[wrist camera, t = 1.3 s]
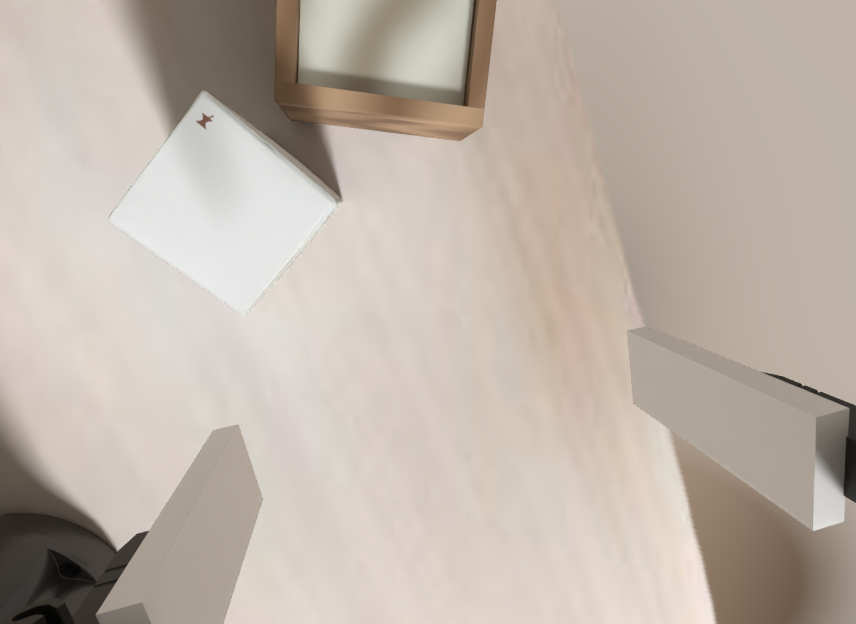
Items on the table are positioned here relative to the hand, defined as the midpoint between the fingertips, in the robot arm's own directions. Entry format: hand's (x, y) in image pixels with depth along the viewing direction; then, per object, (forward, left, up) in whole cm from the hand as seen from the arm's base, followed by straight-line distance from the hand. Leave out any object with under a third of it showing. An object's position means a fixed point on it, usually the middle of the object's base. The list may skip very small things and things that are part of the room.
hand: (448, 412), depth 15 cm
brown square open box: (-2, +18, -21) cm, 28 cm away
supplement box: (-9, +6, -21) cm, 24 cm away
